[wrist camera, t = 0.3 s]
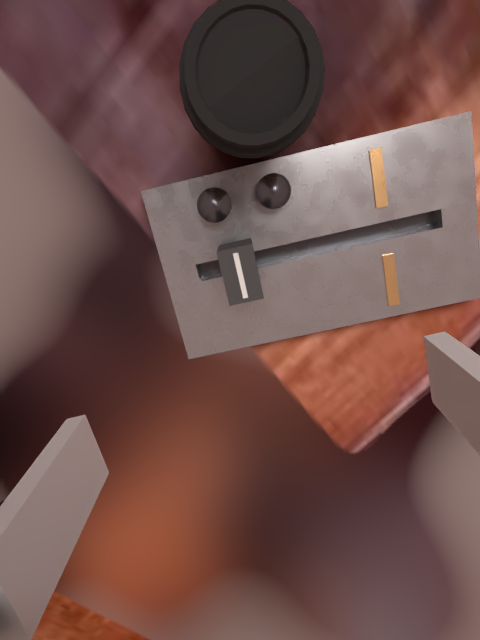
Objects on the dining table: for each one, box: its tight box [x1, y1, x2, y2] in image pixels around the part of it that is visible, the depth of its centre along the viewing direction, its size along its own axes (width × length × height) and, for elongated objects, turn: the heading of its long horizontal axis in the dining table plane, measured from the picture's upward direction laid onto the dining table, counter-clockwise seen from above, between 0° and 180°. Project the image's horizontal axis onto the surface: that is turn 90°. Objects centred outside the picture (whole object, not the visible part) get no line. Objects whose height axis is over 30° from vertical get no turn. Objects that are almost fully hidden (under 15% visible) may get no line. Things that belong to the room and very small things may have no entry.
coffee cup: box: [180, 0, 325, 158], centre depth 29 cm, size 8×8×15 cm
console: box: [141, 111, 480, 359], centre depth 38 cm, size 16×28×4 cm, turn 103°
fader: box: [217, 238, 264, 306], centre depth 36 cm, size 4×3×7 cm, turn 13°
